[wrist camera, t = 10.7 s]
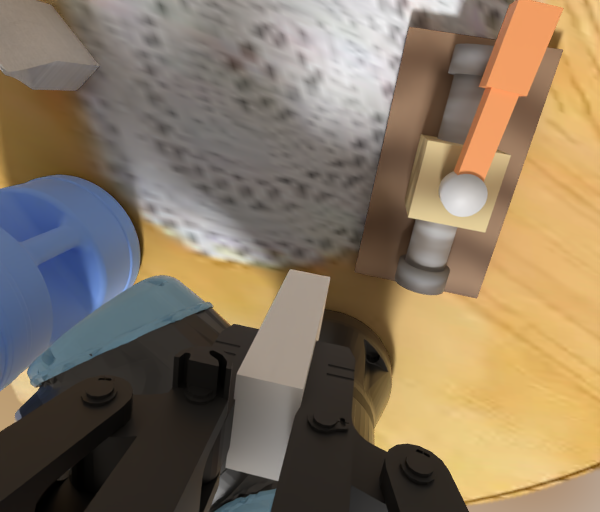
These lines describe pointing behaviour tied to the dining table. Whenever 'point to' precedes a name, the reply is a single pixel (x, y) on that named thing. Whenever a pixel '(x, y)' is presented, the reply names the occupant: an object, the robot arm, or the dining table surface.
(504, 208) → the valve stand
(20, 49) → the grey milk carton
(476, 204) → the valve lever
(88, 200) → the water jug
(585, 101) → the dining table surface
